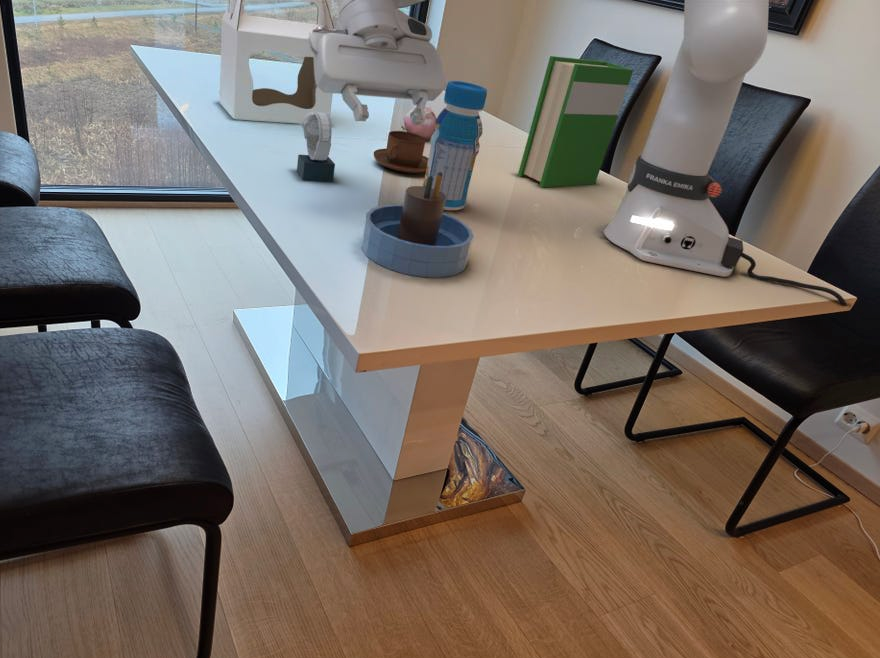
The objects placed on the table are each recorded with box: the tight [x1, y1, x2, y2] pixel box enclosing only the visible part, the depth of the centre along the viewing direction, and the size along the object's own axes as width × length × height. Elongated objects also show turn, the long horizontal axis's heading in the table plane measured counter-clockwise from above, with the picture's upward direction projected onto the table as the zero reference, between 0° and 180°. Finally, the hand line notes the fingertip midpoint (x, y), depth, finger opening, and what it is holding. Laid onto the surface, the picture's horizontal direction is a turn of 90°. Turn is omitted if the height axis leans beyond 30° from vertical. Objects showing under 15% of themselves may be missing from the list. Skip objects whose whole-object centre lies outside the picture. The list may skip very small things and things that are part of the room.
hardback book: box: [517, 55, 634, 189], centre depth 140 cm, size 18×7×24 cm, turn 126°
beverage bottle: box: [422, 80, 488, 211], centre depth 114 cm, size 8×8×20 cm
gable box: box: [219, 0, 335, 125], centre depth 144 cm, size 22×13×28 cm, turn 115°
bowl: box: [361, 204, 474, 279], centre depth 95 cm, size 15×15×5 cm
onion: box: [400, 106, 437, 140], centre depth 155 cm, size 8×8×7 cm
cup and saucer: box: [373, 130, 429, 174], centre depth 132 cm, size 12×12×6 cm
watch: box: [296, 112, 336, 182], centre depth 116 cm, size 6×8×11 cm
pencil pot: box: [397, 172, 446, 246], centre depth 92 cm, size 6×6×12 cm
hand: (391, 121), depth 96 cm, fingers open, 8 cm apart
